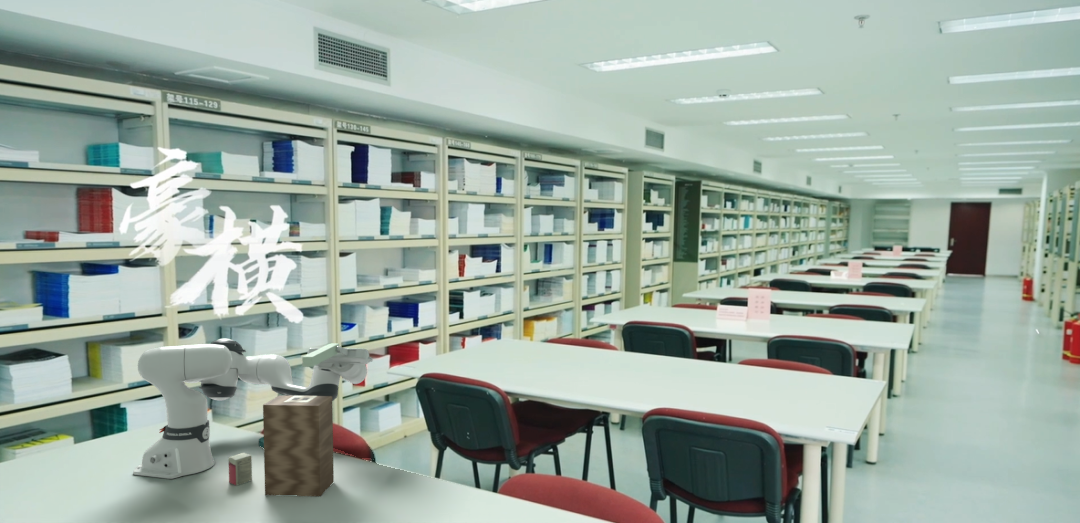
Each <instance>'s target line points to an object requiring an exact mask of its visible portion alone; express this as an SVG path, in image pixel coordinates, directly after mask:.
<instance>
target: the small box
mask: <svg viewBox="0 0 1080 523" xmlns="http://www.w3.org/2000/svg"><path fill="white" fill-rule="evenodd" d="M252 460H253V459H252V455H251V454H249V453H246V452H241V453H237V454H235V455H231V456H228V461H227V462H228V482H229V484H232V485H234V486H237V487H238V486H240V485H243V484H245V483H249V482H251V481H253V472H252V471H253V469H252V468H253V467H252V466H253V463H252ZM248 481H249V482H248Z"/></svg>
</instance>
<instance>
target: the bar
mask: <svg viewBox="0 0 1080 523" xmlns="http://www.w3.org/2000/svg"><path fill="white" fill-rule="evenodd" d="M323 346H324V347H323ZM323 346H322V347H319V348H320V349H318V350H316V351H314V352H311V353H309V354H305V355H303V356H302V358H301V359H302V360H301V361H302V367H304V368H314V366H315V365H317V364H319V363H321V362H323V361H324V360H326V359H328V358H330V357H332V356H334V355H336V354H337V352H336V351H335V350H336V346H340V343H338V342H337V343H335V342H333V343H331V342H330V343H328V344H326V345H323Z"/></svg>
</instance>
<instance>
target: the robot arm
mask: <svg viewBox="0 0 1080 523" xmlns="http://www.w3.org/2000/svg"><path fill="white" fill-rule="evenodd" d="M324 346H325V345H323V346H322V347H324ZM320 348H321V347H310V348H308V349H307V352H306V353H307V354H309V353H311V352H314V351H316V350H318V349H320ZM335 351H336V352H337V354H336V355H334V356H332V357H330V358H328V359H326V360H324V361H323V362H321V363H319V364H317V365H315V366H313V367H312V368H313V369H312V374H311V378H310V382H309V385H308V386H307V387H306V386H301V385H295V384H294V381H293V377H292V376H293V373H292V367H291V365H290V363H289V361H288V360H287V358H286V357H285V356H282V355H280V354H276V353H275V354H273V353H272V354H271V353H269V354H268V353H267V354H258V355H251V356H249V355H247V356H246V355H244V354H243V353H246V352H247V351H246V349H244V348H243V346H242V345H241V344H240V343H239V342H238V341H236V340H234V339H230V338H226V337H225V338H219V339H217V340H213V341H212V342H210V343H204V344H203V343H199V344H198V343H197V344H185V345H183V344H182V345H168V346H165V345H163V346H159V347H155V348H150V349H147V350H145V351H144V352H143V353H142V354H141V355H140V357H139V358H138V362H137V371H138V374H139V375H140V377H141V378H142V379H143V380H144V381H146V382H148V383H150V384H151V385H152V386H153V387H155V388H156V389H157V390H158V391H159V393H160V394H161V395H162V397H163V399H164V403H165V407H166V408H165V409H166V413H167V414H166V415H167V416H166V417H167V424H166V425H164V426H163V427H161V428H160V429H159V434H161V433H162V437H160V438H159V439H158V440H157V441H155V442H154V443H153V444H152V445H151V446H149V447H148V448H147V449H145V451H144V452H143V455H142V460H141V463H140V464H138V465H137V466H136V467H134V469H133V472H132V474H133V475H135V476H142V477H144V476H145V477H152V478H160V479H168V480H170V479H177V478H179V477H182V476H188V475H193V474H197V473H201V472H204V471H206V470H208V469H210V468H212V467H213V466H215V463H216V461H215V460H214V457H213V454H212V450H211V449H212V448H211V446H210V445H211V444H210V435H211V434H210V433H211V430H210V427H211V426H210V420H209V419H208V399H207V398H209V399H212V400H215V401H225V400H228V399H229V398H232V397H234V396H235V395H236V392H237V388H238V387H237V384H238V379H240V380H241V381H242V382H244V383H247V384H254V385H262V386H263V385H268V386H270V387H271V388H270V389H271V391H273V392H274V393H277V394H278V395H281V396H332V402H334V401H335V399H337V398H338V396H339V384H340V379H341V378H342V379H344V380H345V381H346V382H349V383H350V384H354V385H358V384H360V383H362V382H363V381H364V380H365V379H366V377H367V375H368V369H367V365H368V364H369V363H371V362H373V361H374V359H373V357H371V356H370V352H369V350H368V349H366V348H359V347H357V348H353V347H352V348H351V347H349V348H348V347H342V345H339V346H336V350H335ZM307 354H306V355H307ZM186 383H188V384H197V383H200V386H198V389H199V390H202V392H203V393H202V392H201V391H199V390H197V389H193V388H190V387H189V386H188V385H187V384H186Z"/></svg>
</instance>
